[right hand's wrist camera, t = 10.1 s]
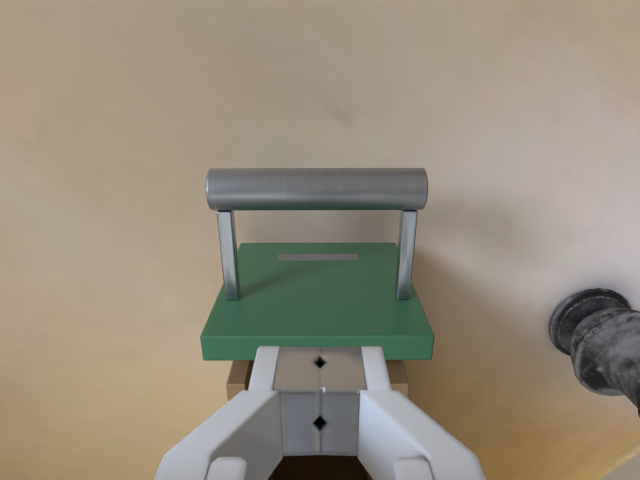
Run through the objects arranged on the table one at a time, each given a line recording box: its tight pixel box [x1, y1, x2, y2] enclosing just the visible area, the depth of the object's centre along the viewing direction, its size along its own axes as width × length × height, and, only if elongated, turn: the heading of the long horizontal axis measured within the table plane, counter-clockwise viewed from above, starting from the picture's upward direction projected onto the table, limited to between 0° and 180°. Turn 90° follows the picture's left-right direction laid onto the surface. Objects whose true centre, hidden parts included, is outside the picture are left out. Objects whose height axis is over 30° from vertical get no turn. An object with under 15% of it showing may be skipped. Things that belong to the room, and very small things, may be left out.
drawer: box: [200, 168, 434, 480], centre depth 23 cm, size 22×9×9 cm, turn 0°
